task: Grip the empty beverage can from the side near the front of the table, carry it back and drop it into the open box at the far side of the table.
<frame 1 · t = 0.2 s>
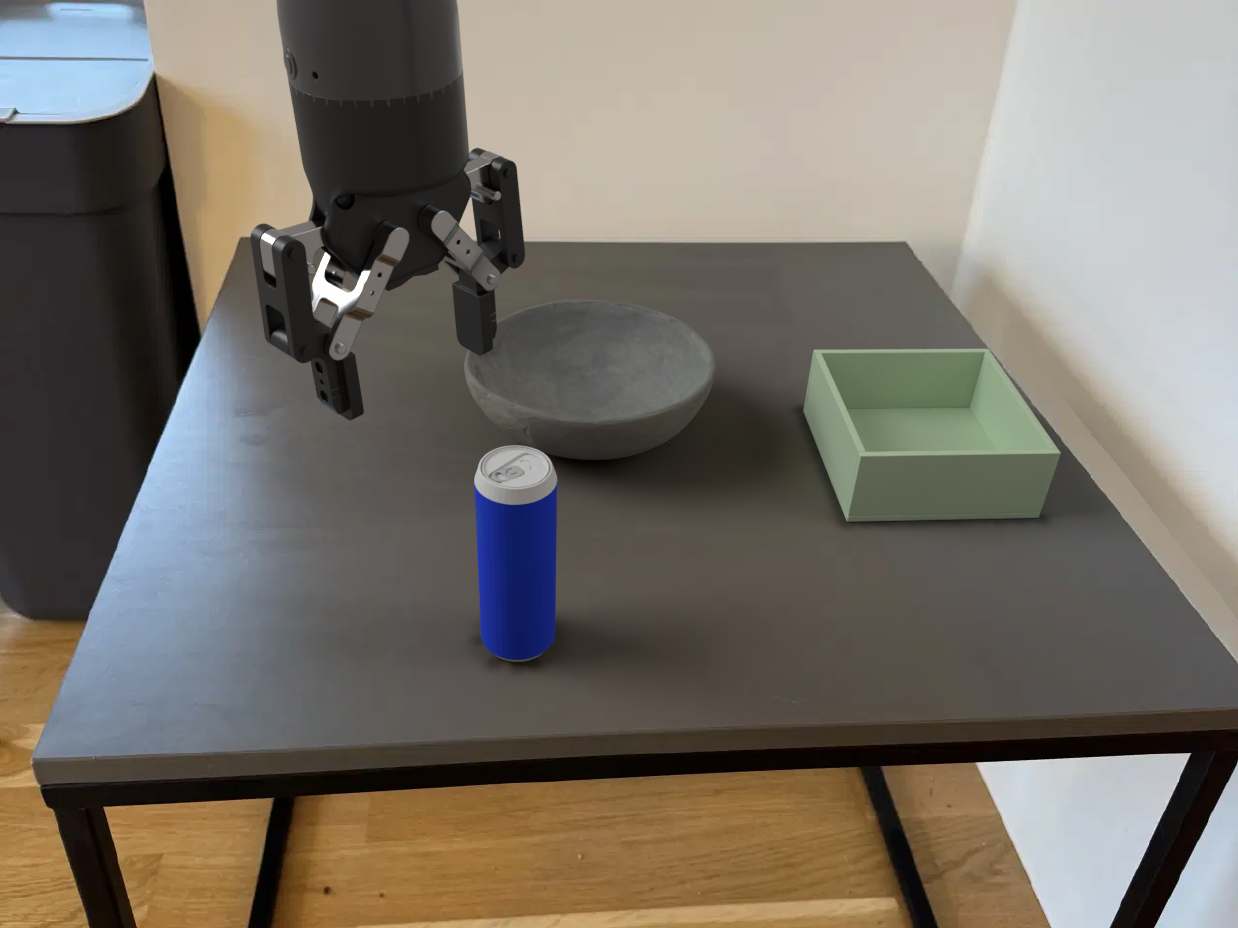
hand: (413, 378, 58), 25 cm above the table, tool pointing down, fingers open, 8 cm apart
open box: (913, 461, 97), on the table
bowl: (587, 431, 98), on the table
beverage can: (518, 641, 77), on the table
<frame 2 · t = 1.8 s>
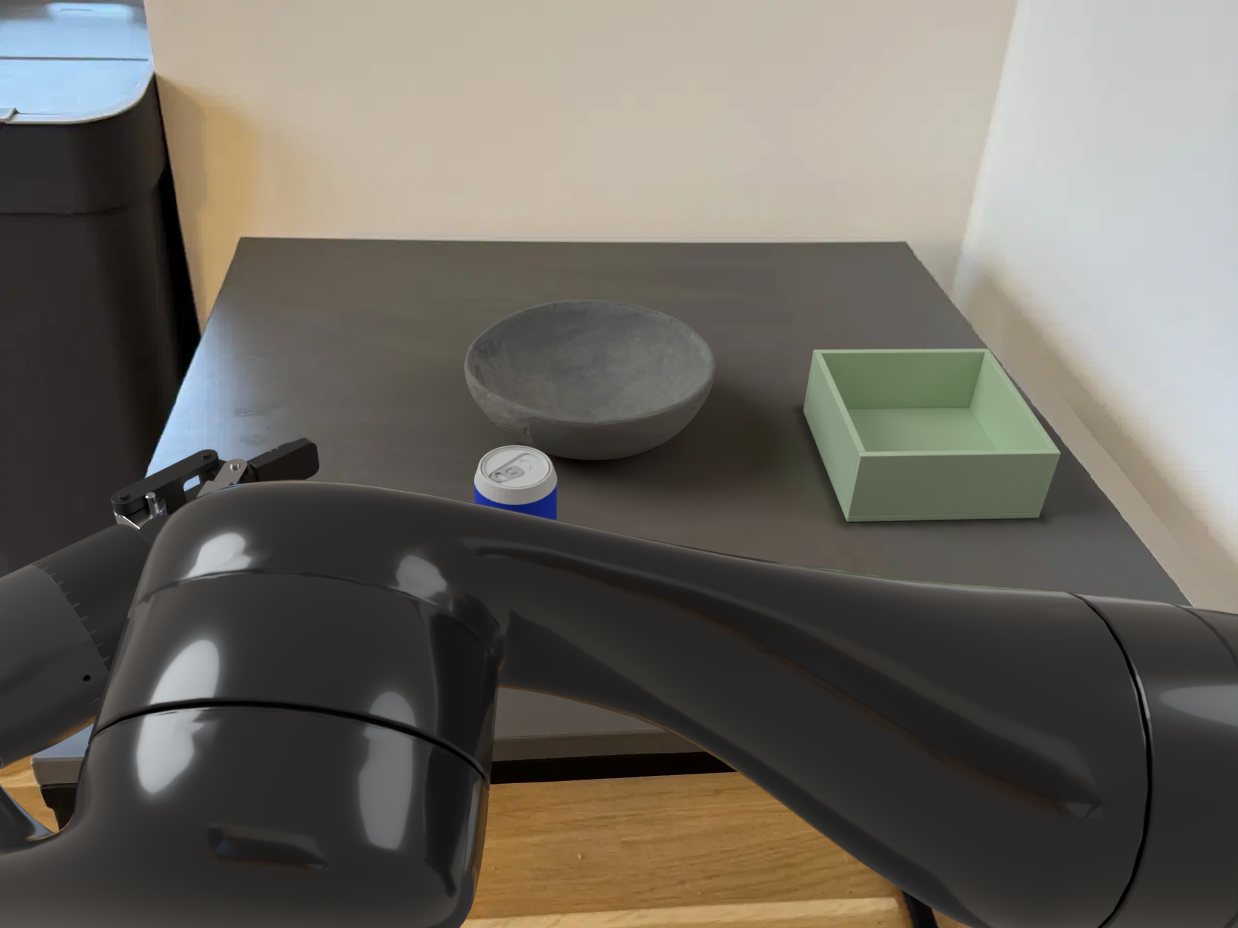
hand: (361, 487, 59), 19 cm above the table, tool horizontal, fingers open, 8 cm apart
nothing on the table moved.
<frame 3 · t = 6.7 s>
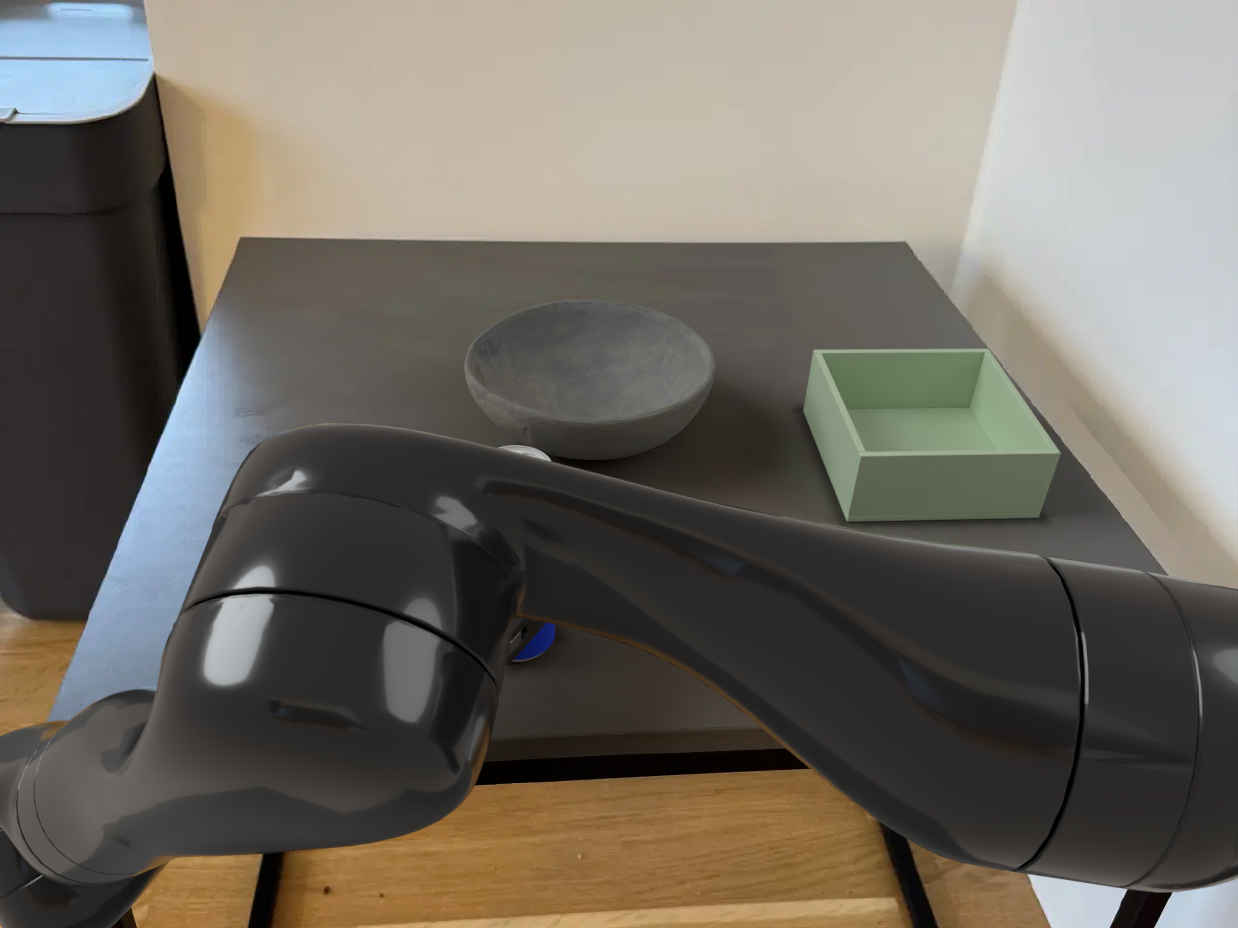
hand: (544, 523, 73), 9 cm above the table, tool horizontal, fingers closed on beverage can, 5 cm apart
beverage can: (517, 641, 77), on the table, touching gripper
everything else where it was.
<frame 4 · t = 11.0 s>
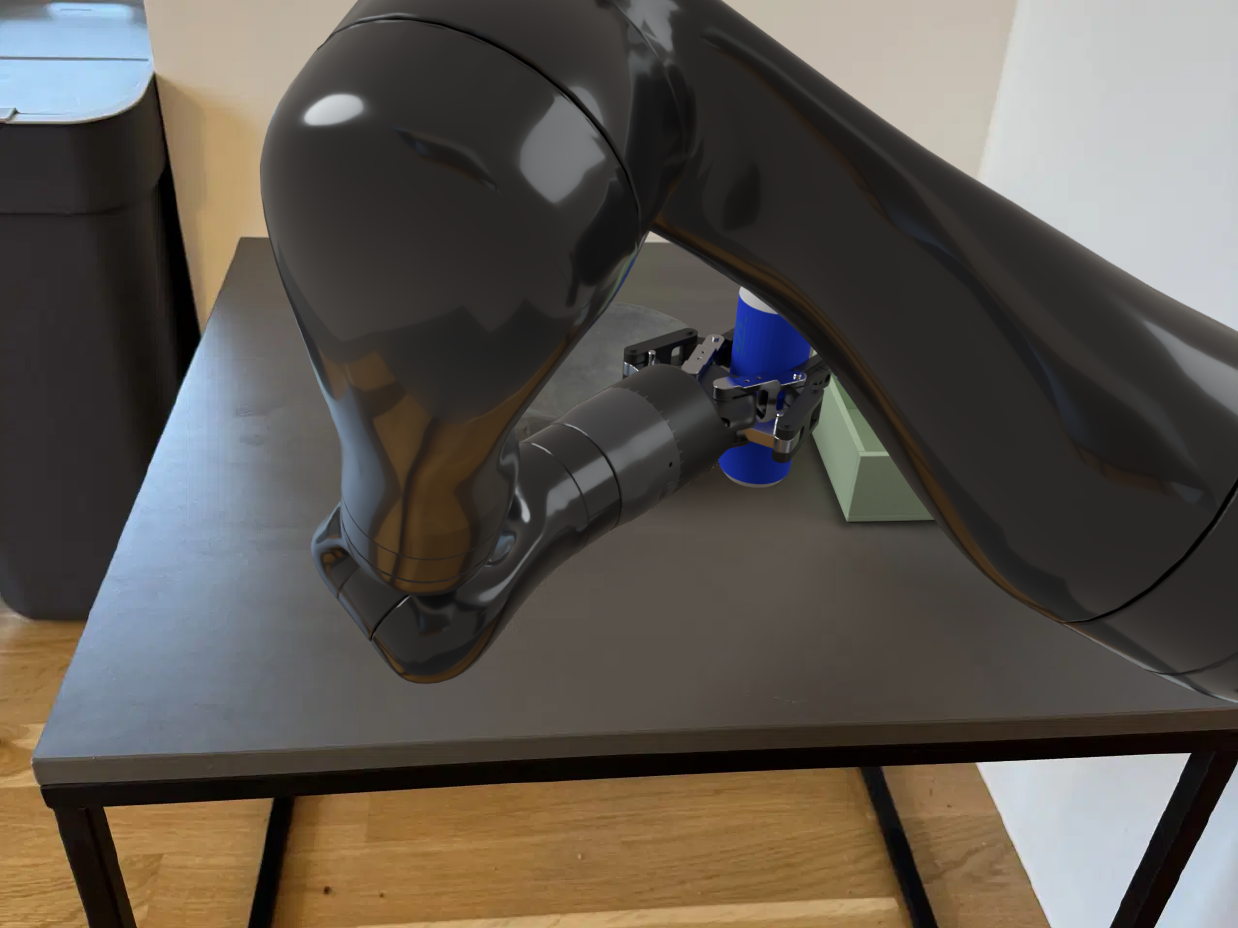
hand: (790, 349, 76), 18 cm above the table, tool horizontal, fingers closed on beverage can, 5 cm apart
beverage can: (752, 472, 80), point 8 cm above the table, touching gripper
everything else where it was.
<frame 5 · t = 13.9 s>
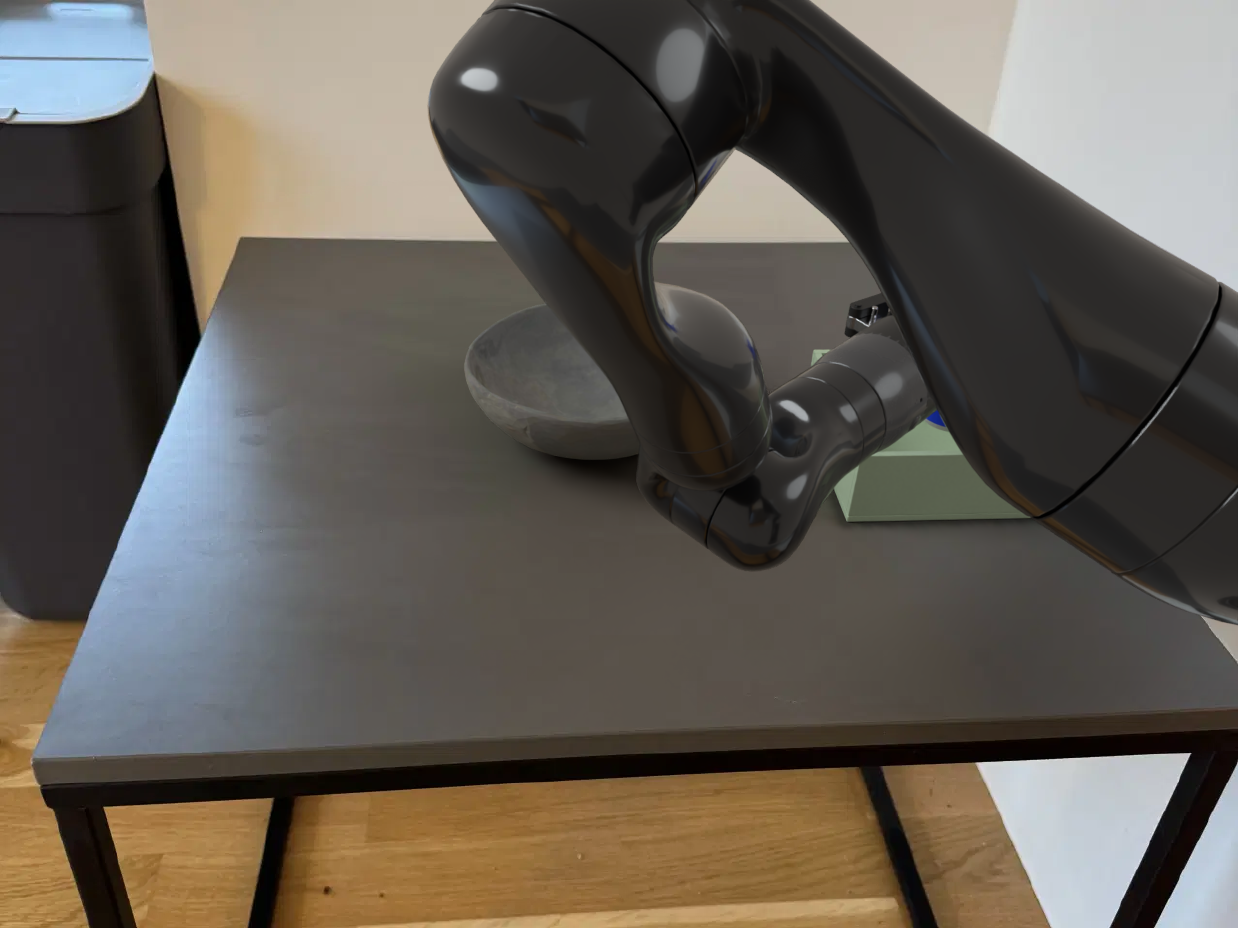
hand: (989, 308, 85), 16 cm above the table, tool horizontal, fingers closed on beverage can, 5 cm apart
beverage can: (947, 419, 89), point 7 cm above the table, touching gripper
everything else where it was.
when the fingers open (13 cm above the table, at t = 15.5 s): beverage can drops 3 cm, resting on open box.
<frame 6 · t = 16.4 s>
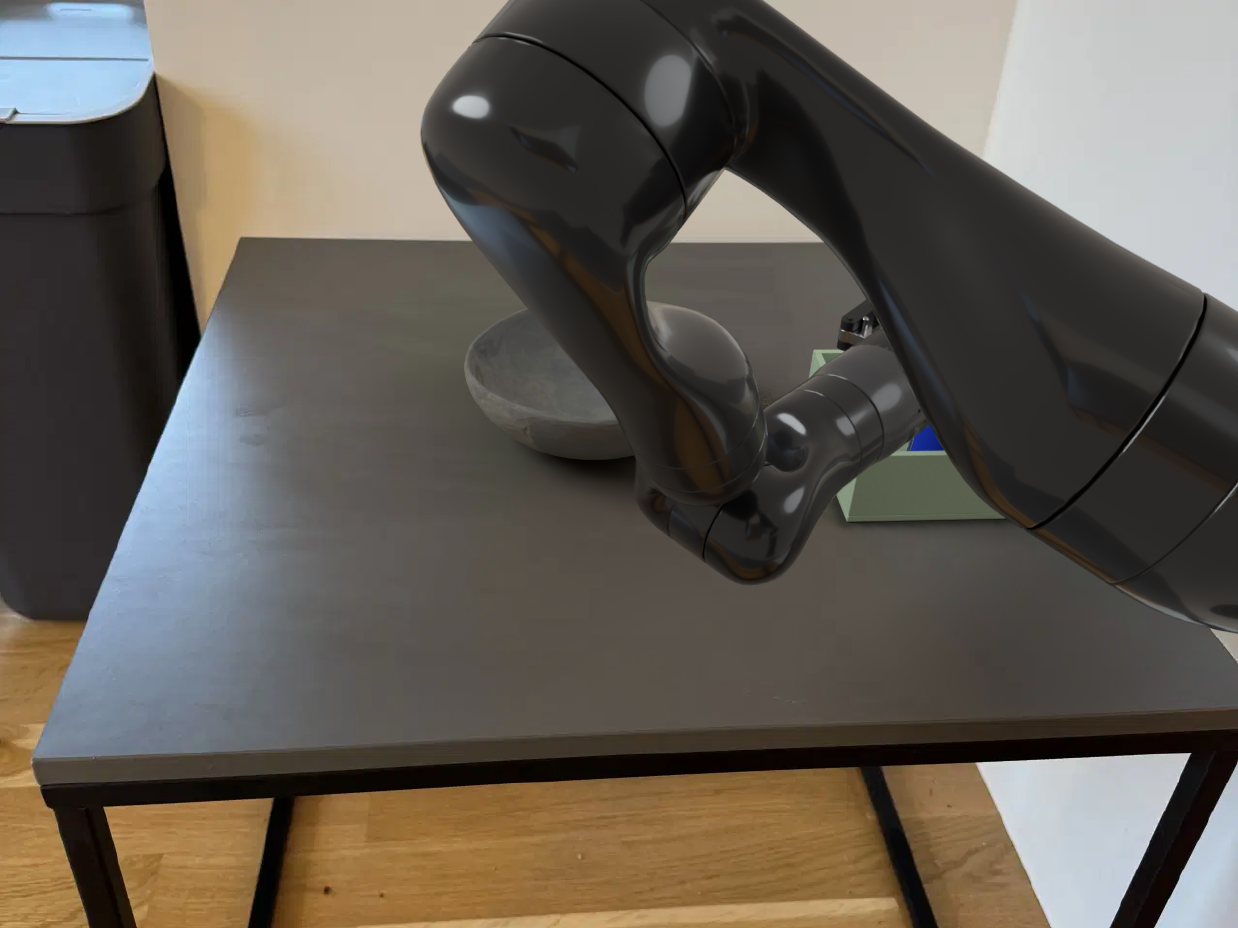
hand: (985, 318, 85), 16 cm above the table, tool horizontal, fingers open, 8 cm apart
beverage can: (930, 486, 93), resting on open box
everything else where it was.
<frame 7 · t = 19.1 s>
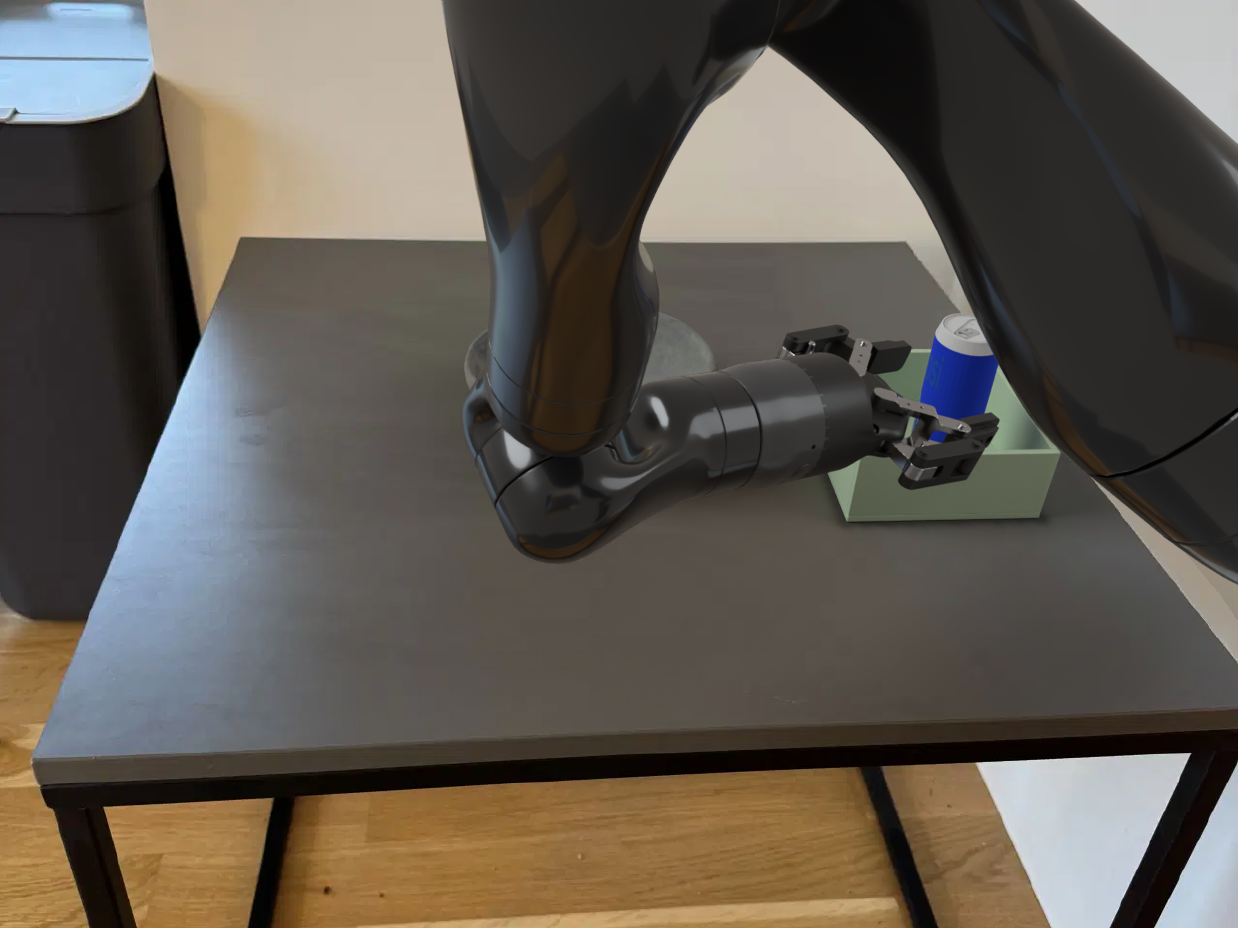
hand: (945, 390, 76), 16 cm above the table, tool horizontal, fingers open, 8 cm apart
nothing on the table moved.
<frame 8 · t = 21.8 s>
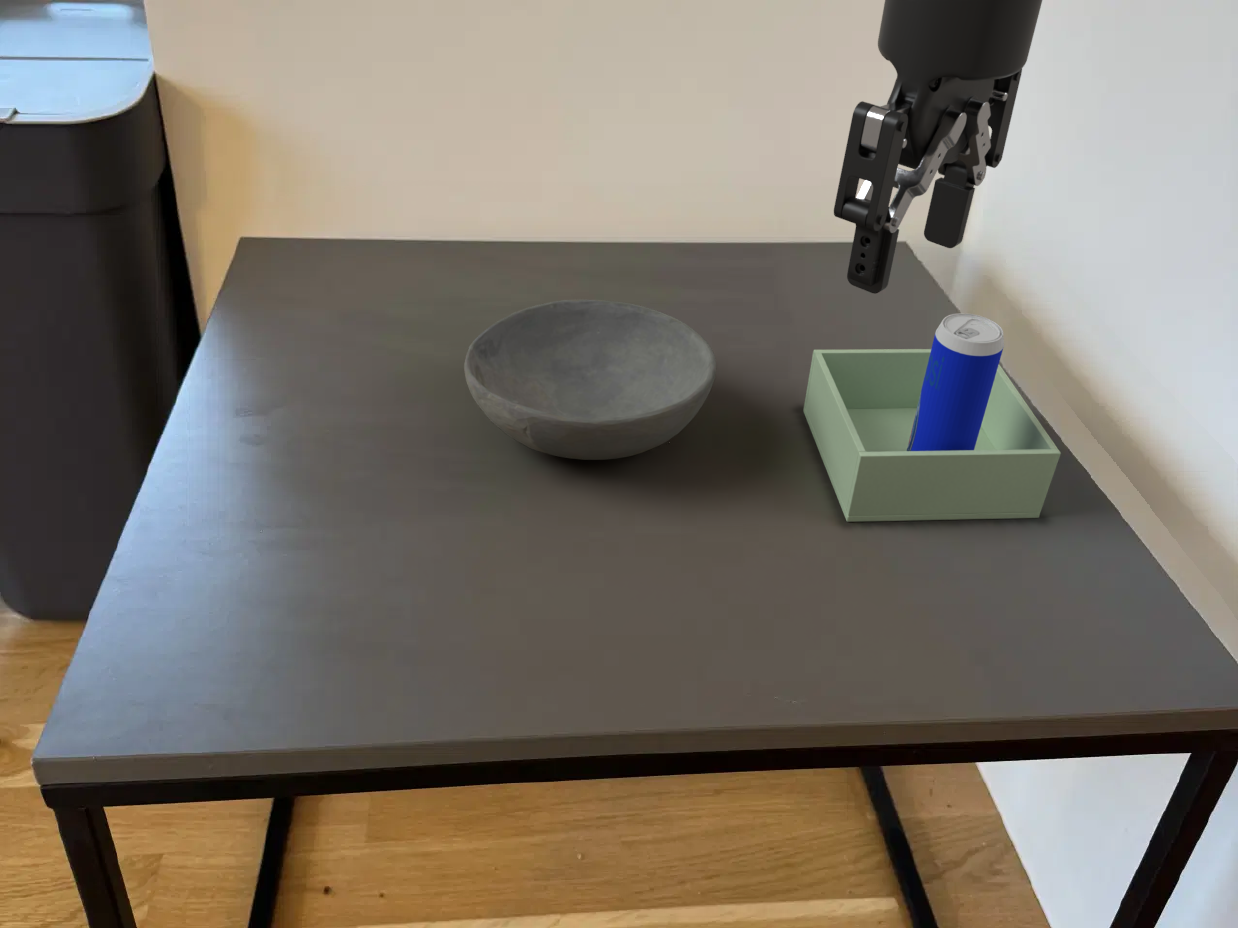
hand: (905, 264, 64), 28 cm above the table, tool pointing down, fingers open, 8 cm apart
nothing on the table moved.
at the end: beverage can inside the target area in the open box (4.1 cm from its centre), point 0.4 cm above the open box's base; the gripper is holding nothing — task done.
